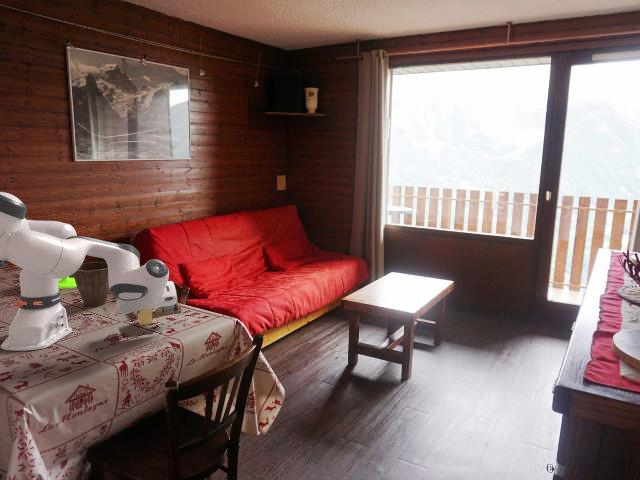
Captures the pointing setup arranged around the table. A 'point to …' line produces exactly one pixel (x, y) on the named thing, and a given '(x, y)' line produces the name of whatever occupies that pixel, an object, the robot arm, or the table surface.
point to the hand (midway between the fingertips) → (144, 311)
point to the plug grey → (168, 308)
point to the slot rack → (160, 313)
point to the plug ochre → (145, 316)
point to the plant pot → (93, 283)
